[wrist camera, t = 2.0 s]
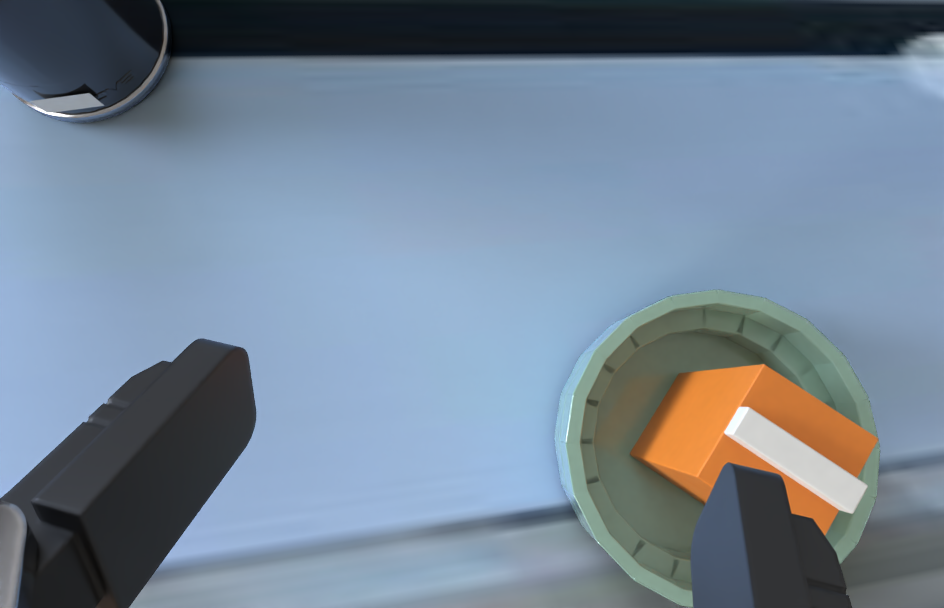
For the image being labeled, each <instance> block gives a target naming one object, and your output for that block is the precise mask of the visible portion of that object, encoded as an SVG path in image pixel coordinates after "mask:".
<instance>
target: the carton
mask: <svg viewBox="0 0 944 608" xmlns="http://www.w3.org/2000/svg"><path fill="white" fill-rule="evenodd" d="M877 442H878V438H877V437H875V436H874V435H872V434H871V433H869V432H868V431H866V430H865V429H863V428H862V427H860V426H859V425H857V424H855V423H854V422H852V421H851V420H849V419H848V418H846V417H845V416H843V415H842V414H840V413H839V412H837V411H836V410H834V409H832V408H831V407H829V406H828V405H826V404H825V403H823V402H822V401H820V400H819V399H817V398H816V397H814V396H812V395H811V394H809V393H808V392H806V391H805V390H803V389H802V388H800V387H799V386H797V385H796V384H794V383H793V382H791V381H789V380H788V379H786V378H785V377H783V376H782V375H780V374H779V373H777V372H776V371H774V370H773V369H771V368H770V367H768V366H766V365H765V364H760V365H751V366H741V367H732V368H723V369H713V370H704V371H695V372H685V373H679V374H678V376H677V377H676V379H675V381H674V382H673V384H672V386H671V387H670V389H669V390H668V392H667V394H666V395H665V397H664V399H663V400H662V402H661V403H660V405H659V407H658V408H657V410H656V412H655V413H654V415H653V416H652V418H651V420H650V421H649V423H648V425H647V426H646V428H645V429H644V431H643V433H642V434H641V436H640V438H639V439H638V441H637V442H636V444H635V446H634V447H633V449H632V451H631V452H630V455H631V456H632V457H634V458H635V459H637V460H638V461H640V462H641V463H643V464H644V465H646V466H647V467H649V468H650V469H651V470H653V471H654V472H656V473H657V474H659V475H660V476H662V477H663V478H665V479H666V480H668V481H669V482H671V483H672V484H674V485H675V486H677V487H678V488H680V489H681V490H683V491H684V492H686V493H687V494H689V495H690V496H692V497H693V498H695V499H696V500H698V501H699V502H700V503H702V504H703V505H705V504H706V502H707V500H708V497H709V495H710V493H711V491H712V489H713V487H714V485H715V482H716V480H717V478H718V476H719V474H720V472H721V470H722V468H723V466H724V465H725V464H726V463H728V462H729V463H734V464H738V465H742V466H747V467H751V468H755V469H759V470H764V471H768V472H772V473H777V474H779V475H781V477H782V478H783V480H784V483H785V487H786V491H787V496H788V500H789V504H790V509H791V513H792V514H796V515H801V516H805V517H809V518H813V519H814V521H815V522H816V524H817V525H818V527H819V528H820V529H821V531H822V532H823V534H824V535H826V533H827V532H828V530H829V528H830V526H831V524H832V523H833V521H834V519H835V517H836V515H837V514H838V512H839V510H841V511H844V512H847V513H851V514H853V513H854V511H855V510H856V508H857V506H858V504H859V502H860V500H861V499H862V497H863V495H864V493H865V491H866V490H867V488H868V485H867V484H865V483H864V482H862V481H861V480H859V479H858V476H859V474H860V472H861V470H862V469H863V467H864V465H865V463H866V461H867V460H868V458H869V456H870V454H871V452H872V451H873V449H874V447H875V445H876V443H877Z"/></svg>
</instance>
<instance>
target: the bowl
mask: <svg viewBox="0 0 944 608" xmlns="http://www.w3.org/2000/svg"><path fill="white" fill-rule="evenodd" d="M760 364H765V365H766V366H768V367H770V368H771V369H773V370H774V371H776V372H777V373H779V374H780V375H782V376H783V377H785V378H786V379H788V380H789V381H791V382H793V383H794V384H796V385H797V386H799V387H800V388H802V389H803V390H805V391H806V392H808V393H809V394H811V395H812V396H814V397H816V398H817V399H819V400H820V401H822V402H823V403H825V404H826V405H828V406H829V407H831V408H832V409H834V410H836V411H837V412H839V413H840V414H842V415H843V416H845V417H846V418H848V419H849V420H851V421H852V422H854V423H855V424H857V425H859V426H860V427H862V428H863V429H865V430H866V431H868V432H869V433H871V434H872V435H874V436H875V437H877V438H878V436H877V431H876V427H875V423H874V418H873V414H872V410H871V405H870V401H869V399H868V396H867V394H866V392H865V390H864V389H863V387H862V385H861V383H860V382H859V380H858V378H857V376H856V375H855V373H854V371H853V369H852V368H851V366H850V364H849V362H848V361H847V359H846V357H845V356H844V355H843V353H842V352H841V351H840V350H838V349H837V348H836V347H835V346H834V345H833V344H832V343H831V342H830V341H829V340H828V339H827V338H826V337H825V336H824V335H823V334H822V333H821V332H820V331H819V330H818V329H817V328H816V327H815V326H813V325H812V324H811V323H810V322H809V321H808V320H807V319H805V318H803V317H801V316H800V315H798V314H796V313H794V312H792V311H790V310H788V309H786V308H784V307H782V306H780V305H778V304H776V303H774V302H772V301H770V300H768V299H766V298H763V297H758V296H752V295H747V294H741V293H735V292H729V291H724V290H708V291H700V292H693V293H686V294H679V295H672V296H669V297H666V298H664V299H662V300H660V301H658V302H656V303H654V304H652V305H650V306H647V307H645V308H643V309H641V310H639V311H637V312H635V313H633V314H631V315H629V316H627V317H625V318H623V319H621V320H619V321H617V322H615V323H613V324H612V325H610V326H609V327H608V328H607V329H606V330H605V331H604V332H603V333H602V334H601V335H600V336H599V337H598V338H597V339H596V340H595V341H594V342H593V343H592V344H591V345H590V346H589V347H588V348H587V349H586V350H585V351H584V352H583V353H582V354H581V356H580V357H579V359H578V361H577V363H576V365H575V367H574V369H573V371H572V373H571V375H570V377H569V379H568V381H567V383H566V385H565V387H564V389H563V391H562V393H561V395H560V402H559V409H558V415H557V422H556V428H555V435H554V438H555V440H554V441H555V448H556V454H557V460H558V467H559V473H560V479H561V483H562V487H563V489H564V491H565V493H566V495H567V497H568V499H569V501H570V503H571V505H572V507H573V509H574V511H575V513H576V515H577V517H578V519H579V521H580V523H581V525H582V526H583V528H584V529H585V530H586V531H587V532H588V533H589V534H590V535H591V536H592V537H593V538H594V540H595V541H596V542H597V543H598V544H599V545H600V546H601V547H602V548H603V549H604V550H605V551H606V552H607V553H608V554H609V555H610V556H611V557H612V558H613V559H614V560H615V562H616V563H617V564H618V565H619V566H620V567H621V568H622V569H623V570H624V571H625V572H626V573H627V574H628V575H629V576H630V577H631V578H632V579H633V580H634V581H636V582H638V583H639V584H641V585H643V586H645V587H647V588H649V589H650V590H652V591H654V592H656V593H658V594H660V595H661V596H663V597H665V598H667V599H669V600H671V601H672V602H674V603H676V604H678V605H681V606H686V607H691V608H693V596H692V580H691V561H690V559H691V545H692V538H693V534H694V530H695V526H696V524H697V521H698V519H699V517H700V515H701V512H702V510H703V508H704V506H705V505H703V504H702V503H700V502H699V501H698V500H696V499H695V498H693V497H692V496H690V495H689V494H687V493H686V492H684V491H683V490H681V489H680V488H678V487H677V486H675V485H674V484H672V483H671V482H669V481H668V480H666V479H665V478H663V477H662V476H660V475H659V474H657V473H656V472H654V471H653V470H651V469H650V468H649V467H647V466H646V465H644V464H643V463H641V462H640V461H638V460H637V459H635V458H634V457H632V456H631V455H630V452H631V451H632V449H633V447H634V446H635V444H636V442H637V441H638V439H639V438H640V436H641V434H642V433H643V431H644V429H645V428H646V426H647V425H648V423H649V421H650V420H651V418H652V416H653V415H654V413H655V412H656V410H657V408H658V407H659V405H660V403H661V402H662V400H663V399H664V397H665V395H666V394H667V392H668V390H669V389H670V387H671V386H672V384H673V382H674V381H675V379H676V377H677V376H678V374H679V373H685V372H695V371H704V370H713V369H723V368H732V367H741V366H751V365H760ZM879 460H880V444H879V440H878V442H877V443H876V445H875V447H874V449H873V451H872V452H871V454H870V456H869V458H868V460H867V461H866V463H865V465H864V467H863V469H862V470H861V472H860V474H859V476H858V479H859V480H861V481H862V482H864V483H865V484H867V485H868V488H867V490H866V491H865V493H864V495H863V497H862V499H861V500H860V502H859V504H858V506H857V508H856V510H855V511H854V513H853V514H851V513H847V512H844V511H841V510H839V512H838V514H837V515H836V517H835V519H834V521H833V523H832V524H831V526H830V528H829V530H828V532H827V533H826V535H825V537H826V538H827V540H828V541H829V543H830V544H831V545H832V547H833V548H834V550H835V551H836V553H837V556H838V560H839V563H840V564H841V563H842V562H843V561H844V559H845V558H846V557H847V556H848V555H849V554H850V553H851V552H852V550H853V549H854V548H855V547H856V546H857V545H856V544H858V542H859V540H860V537H861V535H862V533H863V530H864V528H865V525H866V523H867V520H868V518H869V516H870V513H871V511H872V508H873V506H874V504H875V501H876V499H875V498H876V497H877V486H878V473H879Z"/></svg>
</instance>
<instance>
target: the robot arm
mask: <svg viewBox="0 0 944 608" xmlns="http://www.w3.org/2000/svg"><path fill="white" fill-rule="evenodd" d="M171 49H172V28H171V23H170V19H169V16H168V13H167V11H166V8H165V6H164V5H163V3H162V1H161V0H0V85H2V86H3V87H5V88H6V89H8V90H9V91H10V92H11V93H12V94H13V95H14V96H16V97H17V98H18V99H19V100H21V101H22V102H23V103H25V104H26V105H28V106H29V107H31V108H32V109H34V110H35V111H37V112H39V113H41V114H43V115H45V116H48V117H50V118H53V119H57V120H60V121H66V122H75V123H85V122H95V121H100V120H104V119H108V118H111V117H114V116H116V115H119V114H121V113H123V112H125V111H127V110H128V109H130V108H132V107H133V106H135V105H136V104H138V103H139V102H140V101H141V100H143V99H144V98H145V97H146V96H147V95H148V94H149V93H150V92H151V91H152V90H153V88H154V87H155V86H156V85H157V83H158V82H159V80H160V79H161V77H162V75H163V73H164V71H165V69H166V67H167V64H168V62H169V58H170V55H171ZM255 422H256V407H255V400H254V393H253V386H252V379H251V372H250V365H249V358H248V354H247V352H246V351H245V349H243V348H241V347H237V346H233V345H228V344H224V343H220V342H215V341H211V340H207V339H197V340H195V341H194V342H192V343H191V344H190V345H189V346H188V347H187V348H186V349H185V350H184V351H183V352H182V353H181V354H180V355H179V356H178V357H177V358H176V359H175V360H174V361H173V362H172V363H171V362H167V361H161V362H159V363H157V364H156V365H154V366H152V367H150V368H148V369H146V370H144V371H142V372H140V373H138V374H137V375H135V376H133V377H131V378H130V379H129V380H128V381H127V382H126V383H125V384H124V385H123V386H122V387H120V388H119V389H118V390H117V391H116V392H115V393H114V394H113V395H112V396H111V397H110V398H109V399H108V402H107V404H104V403H103V404H102V405H101V406H100V407H99V408H98V409H97V410H96V411H95V412H94V413H93V414H92V415H90V416H89V419H88V421H87V422H86V423H85V422H83V423H82V424H81V425H80V426H79V427H78V428H76V429H75V430H74V431H73V432H72V433H71V434H70V435H69V436H68V437H67V438H66V439H65V440H64V441H63V442H61V443H60V444H59V445H58V446H57V447H56V448H55V449H54V450H53V451H52V452H51V453H50V454H49V455H48V456H46V457H45V458H44V459H43V460H42V461H41V462H40V463H39V464H38V465H37V466H36V467H35V468H34V469H33V470H31V471H30V472H29V473H28V474H27V475H26V476H25V477H24V478H23V479H22V480H21V481H20V482H19V483H18V484H16V485H15V486H14V487H13V488H12V489H11V490H10V491H9V492H8V493H6V494H5V495H4V496H3V497H2V498H0V608H129V606H130V605H131V604H132V602H133V601H134V600H135V598H136V597H137V595H138V594H139V593H140V591H141V590H142V589H143V587H144V586H145V585H146V583H147V582H148V580H149V579H150V578H151V576H152V575H153V574H154V572H155V571H156V569H157V568H158V567H159V565H160V564H161V563H162V561H163V560H164V559H165V557H166V556H167V554H168V553H169V552H170V550H171V549H172V548H173V546H174V545H175V543H176V542H177V541H178V539H179V538H180V537H181V535H182V534H183V532H184V531H185V530H186V528H187V527H188V526H189V524H190V523H191V522H192V520H193V519H194V517H195V516H196V515H197V513H198V512H199V511H200V509H201V508H202V506H203V505H204V504H205V502H206V501H207V500H208V498H209V497H210V496H211V494H212V493H213V491H214V490H215V489H216V487H217V486H218V485H219V483H220V482H221V480H222V479H223V478H224V476H225V475H226V474H227V472H228V471H229V469H230V468H231V467H232V465H233V464H234V463H235V461H236V460H237V459H238V457H239V456H240V454H241V453H242V452H243V450H244V449H245V447H246V446H247V444H248V442H249V441H250V438H251V436H252V433H253V430H254V427H255ZM690 561H691V580H692V596H693V608H852V606H851V602H850V599H849V596H848V595H846V589H847V588H846V585H845V581H844V578H843V574H842V570H841V567H840V563H839V560H838V556H837V553H836V551H835V550H834V548H833V547H832V545H831V544H830V543H829V541H828V540H827V538H826V537H825V535H824V534H823V532H822V531H821V529H820V528H819V527H818V525H817V524H816V522H815V521H814V519H813V518H809V517H805V516H801V515H796V514H792V513H791V509H790V504H789V500H788V496H787V491H786V487H785V483H784V480H783V478H782V477H781V475H779V474H777V473H772V472H768V471H764V470H759V469H755V468H751V467H747V466H742V465H738V464H734V463H729V462H728V463H726V464H725V465H724V466H723V468H722V470H721V472H720V474H719V476H718V478H717V480H716V482H715V485H714V487H713V489H712V491H711V493H710V495H709V497H708V500H707V502H706V504H705V506H704V508H703V510H702V512H701V515H700V517H699V519H698V521H697V524H696V526H695V530H694V534H693V538H692V545H691V559H690Z"/></svg>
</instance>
